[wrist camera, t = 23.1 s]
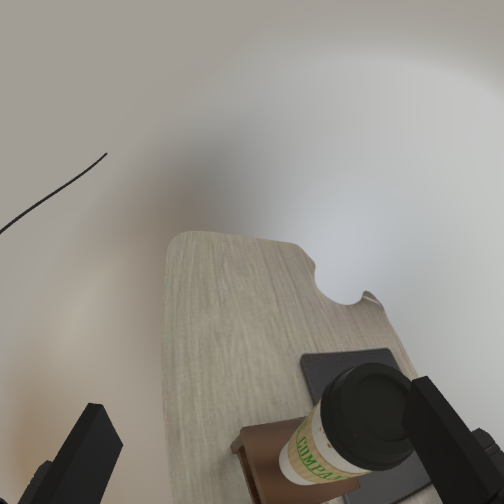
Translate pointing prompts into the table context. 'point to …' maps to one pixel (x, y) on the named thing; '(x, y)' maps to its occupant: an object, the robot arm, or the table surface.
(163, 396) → the table surface
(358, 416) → the coffee cup
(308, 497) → the small brown wooden table
